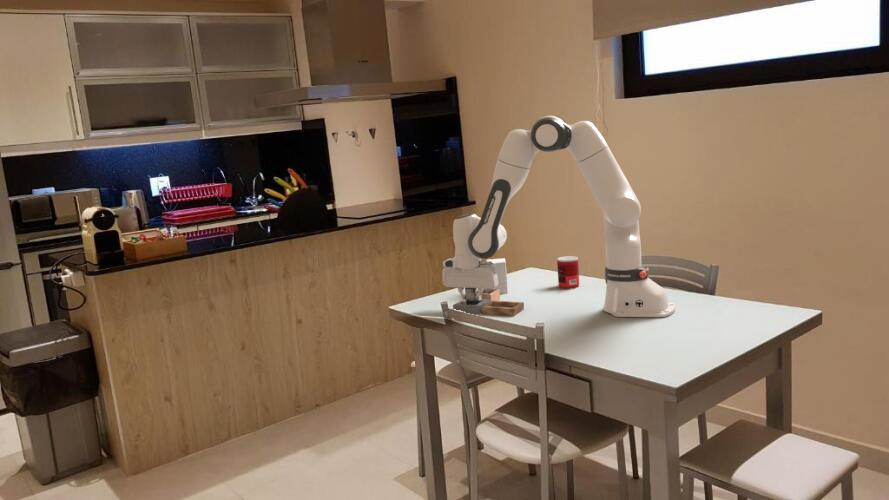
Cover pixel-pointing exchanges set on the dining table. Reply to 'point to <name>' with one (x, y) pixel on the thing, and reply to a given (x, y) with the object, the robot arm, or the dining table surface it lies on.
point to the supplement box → (501, 274)
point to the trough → (503, 308)
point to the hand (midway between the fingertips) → (471, 299)
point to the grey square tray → (470, 306)
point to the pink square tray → (491, 295)
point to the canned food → (568, 272)
